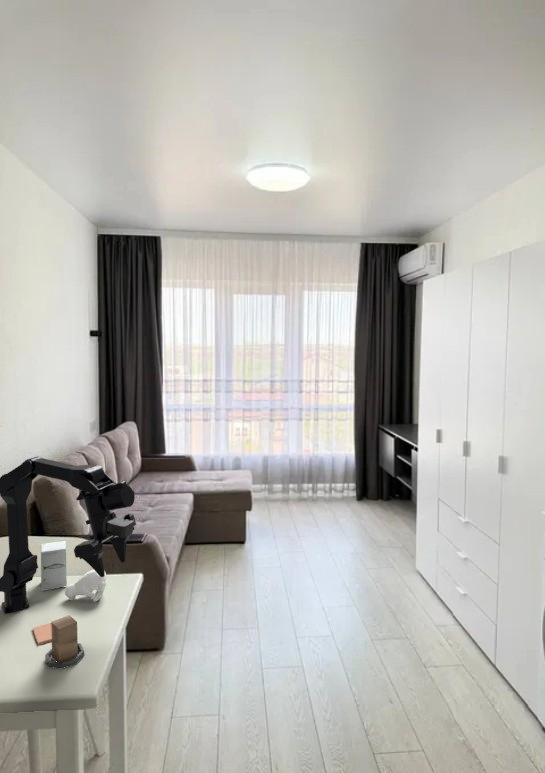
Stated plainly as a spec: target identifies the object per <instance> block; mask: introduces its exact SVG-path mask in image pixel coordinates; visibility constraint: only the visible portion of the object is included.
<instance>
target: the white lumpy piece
mask: <svg viewBox="0 0 545 773" xmlns="http://www.w3.org/2000/svg"><path fill="white" fill-rule="evenodd" d="M104 572H105V576H104V577H100V576H99V575H98V574H97V572H96V571H95V570H94V569H93V568H92V569H90V570H88V571H87V572H86V573H84V574H83V575H82V576H81V577H80V578H79V579H78V580H77V581H75V582H74V583H71V584H68V585H67V586H66V587H65V590H64V596H66V598H68V599H69V600H70V599H71V601H73V602H74V600H75V599H76V597H77V596H85V597H88V598H93V602H97V601H98V600H100V599H101V597H102V596H103V594H104V591H105V589H106V586H107V581H106V580H107V574H106V571H105V570H104ZM94 591H95V593H94Z"/></svg>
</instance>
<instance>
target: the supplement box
mask: <svg viewBox="0 0 545 773" xmlns="http://www.w3.org/2000/svg"><path fill="white" fill-rule="evenodd" d="M40 582H41V583H40V588H41V591H42V592H44V591H48V590H54V589H55V588H56V589H60V588H59V587H62V588H65V587H64V586H66V587H67V586H68V585H67V584H68V582H67V540H62V541H54V542H53V541H52V542H46V543H41V544H40Z"/></svg>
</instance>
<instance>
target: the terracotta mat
mask: <svg viewBox="0 0 545 773" xmlns="http://www.w3.org/2000/svg"><path fill="white" fill-rule="evenodd" d="M32 632H33V634H34V637H35V640H36V644H37V646H40V645H42V644H43V645H44V644H45V643H46V644H47V643H49V642H52V630H51V622H49V623H48V622H47V623H45V624H41V625H38V626H34V627H32Z"/></svg>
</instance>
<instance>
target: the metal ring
mask: <svg viewBox="0 0 545 773" xmlns="http://www.w3.org/2000/svg"><path fill="white" fill-rule="evenodd" d="M78 652H79V653H78V655H77V656H76V657H75V658H73V659H70V660H67V661H64V662H56V661H55V660H51V658H52V648H50V650H49V651H48V652H47V653H45V656H44V660H45V662H46V665H47V668H52V669H59V668H62V669H65V668H68V667H71V666H75V665H77V664H76V663H77V662H78V661H79V662H80V661H81V659H82V658H83V657H84V656H85V649H84V647H83V645H82V643H80V642H78ZM79 662H78V663H79ZM70 665H71V666H70ZM67 666H68V667H67ZM53 667H54V668H53ZM64 667H65V668H64Z"/></svg>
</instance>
